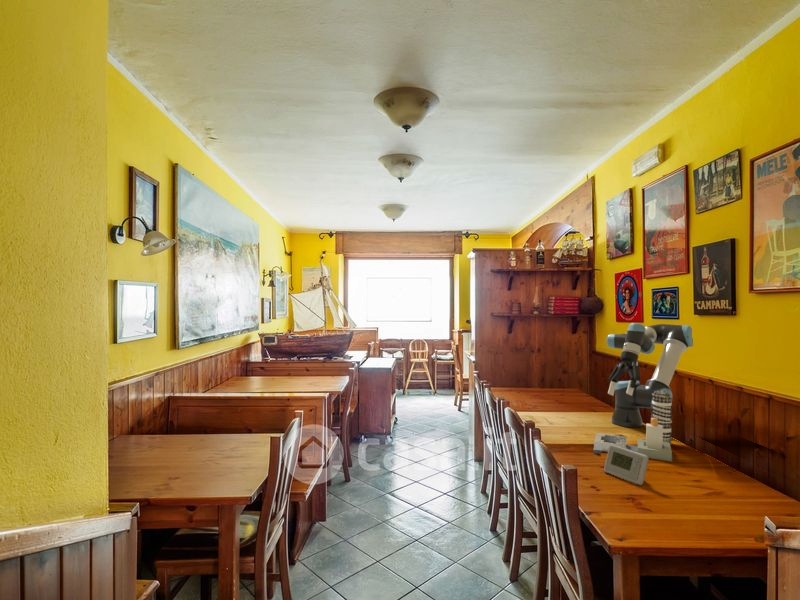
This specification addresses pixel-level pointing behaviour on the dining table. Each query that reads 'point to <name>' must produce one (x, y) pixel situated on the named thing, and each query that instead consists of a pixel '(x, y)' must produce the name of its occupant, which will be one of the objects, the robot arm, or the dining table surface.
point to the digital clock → (626, 464)
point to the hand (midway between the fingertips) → (619, 394)
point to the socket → (608, 441)
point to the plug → (654, 434)
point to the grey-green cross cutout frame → (653, 453)
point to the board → (630, 447)
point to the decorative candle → (663, 413)
